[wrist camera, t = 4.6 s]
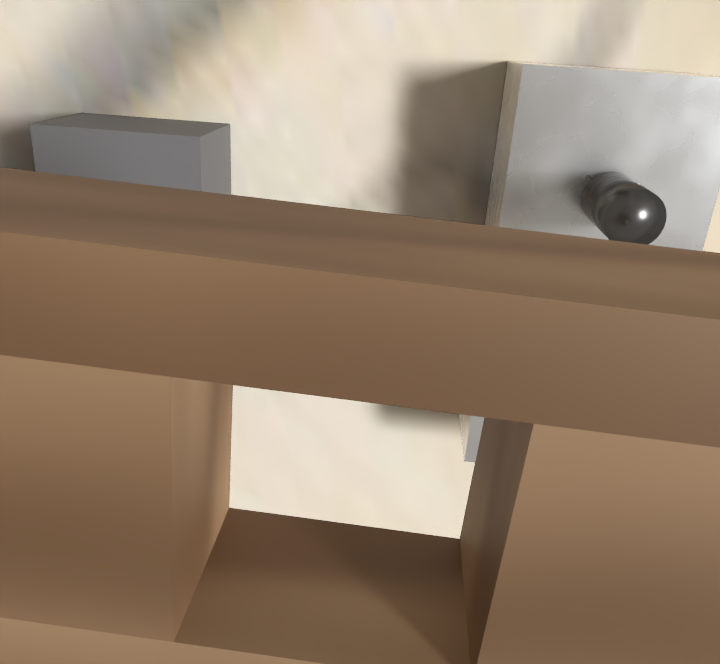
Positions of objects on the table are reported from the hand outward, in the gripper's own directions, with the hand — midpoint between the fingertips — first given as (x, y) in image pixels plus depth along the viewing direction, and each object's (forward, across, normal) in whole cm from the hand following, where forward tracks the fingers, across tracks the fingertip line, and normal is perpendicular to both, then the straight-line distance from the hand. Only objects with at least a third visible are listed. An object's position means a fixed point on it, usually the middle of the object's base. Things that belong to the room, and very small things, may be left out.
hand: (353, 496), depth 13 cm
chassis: (+16, +7, +1) cm, 18 cm away
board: (-3, 0, 0) cm, 3 cm away
